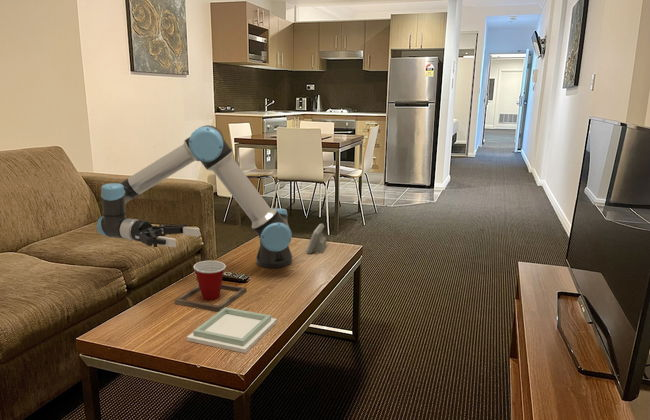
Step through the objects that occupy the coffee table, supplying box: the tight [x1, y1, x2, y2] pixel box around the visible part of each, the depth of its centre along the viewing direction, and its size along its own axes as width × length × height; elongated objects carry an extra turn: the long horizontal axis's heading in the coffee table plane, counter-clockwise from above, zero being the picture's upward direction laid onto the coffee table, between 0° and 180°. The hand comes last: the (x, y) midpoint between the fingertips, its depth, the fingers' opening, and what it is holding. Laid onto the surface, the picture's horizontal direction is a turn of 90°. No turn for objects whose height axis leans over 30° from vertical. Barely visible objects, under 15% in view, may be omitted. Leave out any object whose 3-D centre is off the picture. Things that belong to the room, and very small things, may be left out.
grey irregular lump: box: [305, 223, 327, 255], centre depth 210 cm, size 16×9×11 cm, turn 158°
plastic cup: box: [193, 259, 227, 302], centre depth 158 cm, size 11×11×12 cm
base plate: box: [186, 306, 278, 354], centre depth 136 cm, size 19×19×3 cm
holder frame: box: [174, 283, 247, 313], centre depth 159 cm, size 17×17×2 cm
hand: (187, 237), depth 157 cm, fingers open, 13 cm apart
